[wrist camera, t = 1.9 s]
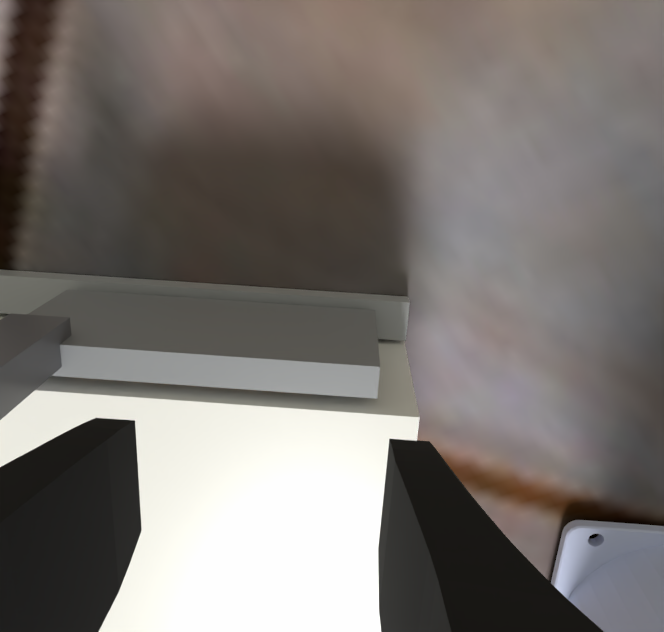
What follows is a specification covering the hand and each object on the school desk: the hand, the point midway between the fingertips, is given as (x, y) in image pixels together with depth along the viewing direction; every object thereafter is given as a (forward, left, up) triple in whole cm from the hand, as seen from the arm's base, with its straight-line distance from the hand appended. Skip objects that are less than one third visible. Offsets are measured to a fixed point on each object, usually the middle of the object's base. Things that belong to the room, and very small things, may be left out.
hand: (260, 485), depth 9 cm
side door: (+2, 0, -9) cm, 9 cm away
